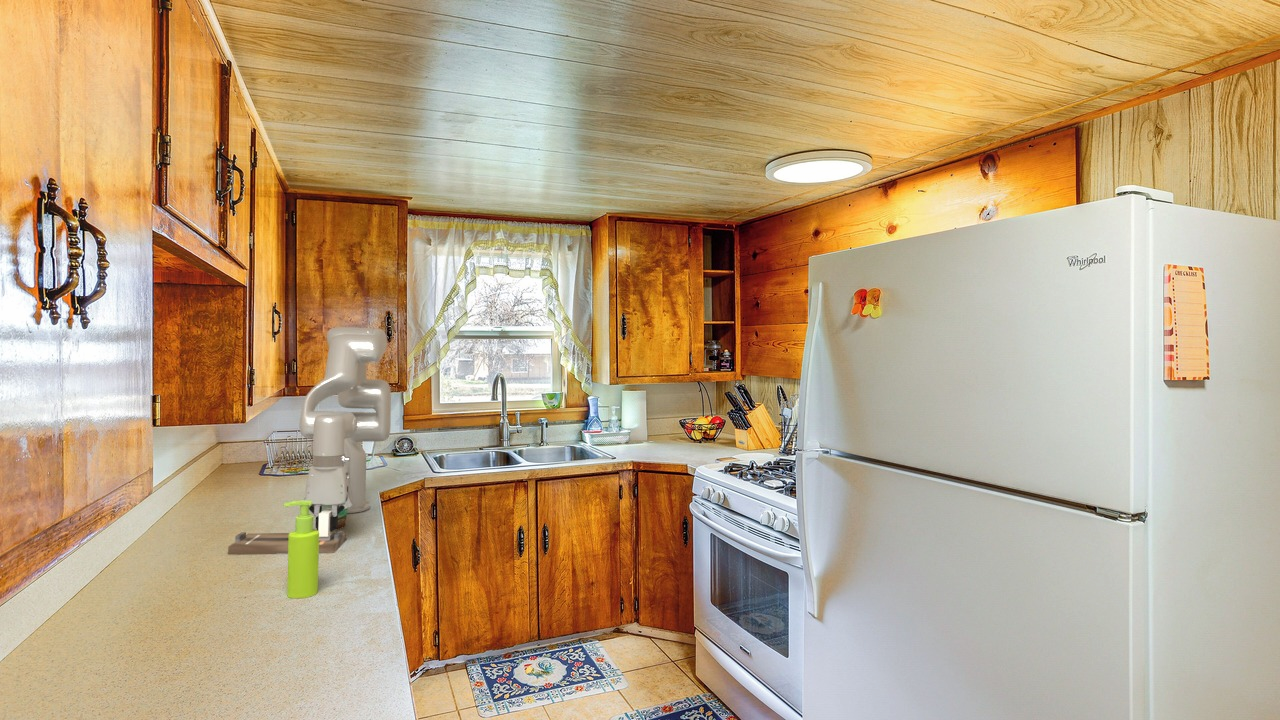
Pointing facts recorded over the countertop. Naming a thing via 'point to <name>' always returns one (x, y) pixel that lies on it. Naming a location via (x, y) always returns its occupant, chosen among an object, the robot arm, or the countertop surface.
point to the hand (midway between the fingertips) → (326, 529)
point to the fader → (325, 525)
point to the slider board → (277, 543)
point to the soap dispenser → (303, 554)
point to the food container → (340, 516)
